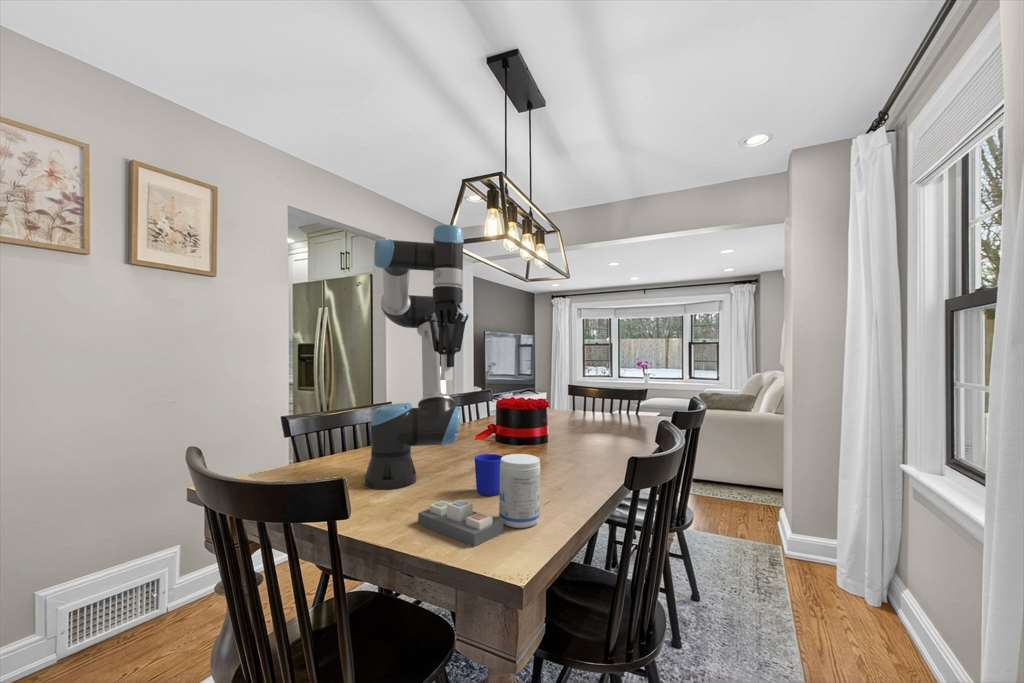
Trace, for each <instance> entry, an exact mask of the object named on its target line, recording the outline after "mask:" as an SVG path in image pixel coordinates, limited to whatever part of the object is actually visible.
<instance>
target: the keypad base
mask: <svg viewBox="0 0 1024 683" xmlns="http://www.w3.org/2000/svg"><path fill="white" fill-rule="evenodd" d="M477 513H478V512H477V511H474V510H473V515H474V514H477ZM417 518H418V520H417V521H418V522H417V523H418V524H417V525H419V526H422V527H425V528H427V529H430V530H432V531H435V532H437V533H439V534H442V535H444V536H447V537H449V538H452V539H455V540H457V541H458V542H459V541H460V542H462V543H464V544H467V545H469V546H472V547H477V546H479V545H481V544H483V543H485V542H487V541H489V540H491V539H493V538H495V537H497V536H500V535H501V534H503V533H504V524H503V521H501V520H500V519H497V518H496V517H495V518H494V517H492V525H490V526H487V527H485V528H483V529H481V530H478V529H475V528H473V527H470V526H467V525H466V520H465V521H462V522H460V523H459V522H456V521H454V520H451V519H448V518H447V514H445V515H442V516H440V515H437V514H435V513H432V512H430V508H429V509H428V508H427V509H425V510H422V511H420V512H418V514H417Z"/></svg>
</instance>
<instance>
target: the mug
mask: <svg viewBox="0 0 1024 683" xmlns="http://www.w3.org/2000/svg"><path fill="white" fill-rule="evenodd" d="M503 456H504V455H500V454H495V453H483V454H479V455H476V456H474V468H475V469H474V472H475V485H476V486H475V488H476V491H477V493H478V494H479V495H480V496H481V495H482V496H485V497H489V496H492V497H493V496H496V495H499V491H500V463H501V458H502V457H503Z"/></svg>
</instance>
